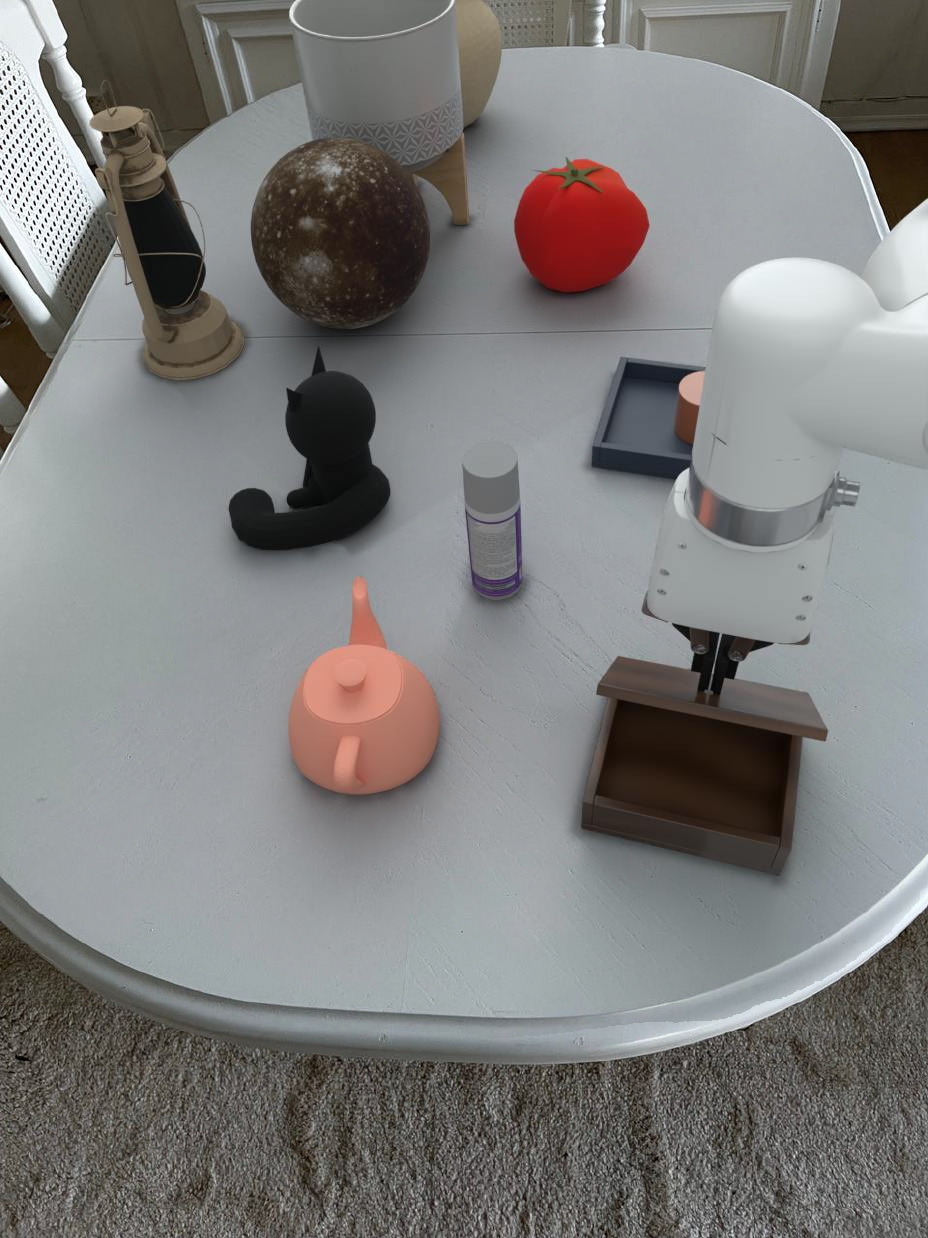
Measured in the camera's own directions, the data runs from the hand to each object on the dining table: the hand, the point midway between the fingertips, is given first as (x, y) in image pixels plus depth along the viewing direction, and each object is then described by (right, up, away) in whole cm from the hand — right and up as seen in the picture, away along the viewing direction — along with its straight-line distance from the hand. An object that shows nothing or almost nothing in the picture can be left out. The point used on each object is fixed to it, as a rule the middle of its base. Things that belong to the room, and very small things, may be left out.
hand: (711, 675), depth 68 cm
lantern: (-49, +36, +47) cm, 77 cm away
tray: (+7, +23, +32) cm, 40 cm away
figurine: (-32, +15, +29) cm, 45 cm away
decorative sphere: (-30, +41, +49) cm, 71 cm away
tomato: (-3, +46, +51) cm, 68 cm away
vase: (-20, +79, +79) cm, 113 cm away
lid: (0, -2, +1) cm, 2 cm away
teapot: (-25, -5, +12) cm, 28 cm away
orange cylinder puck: (+7, +23, +31) cm, 39 cm away
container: (-14, +7, +21) cm, 27 cm away
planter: (-26, +57, +62) cm, 88 cm away
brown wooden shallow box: (0, -8, +7) cm, 11 cm away
